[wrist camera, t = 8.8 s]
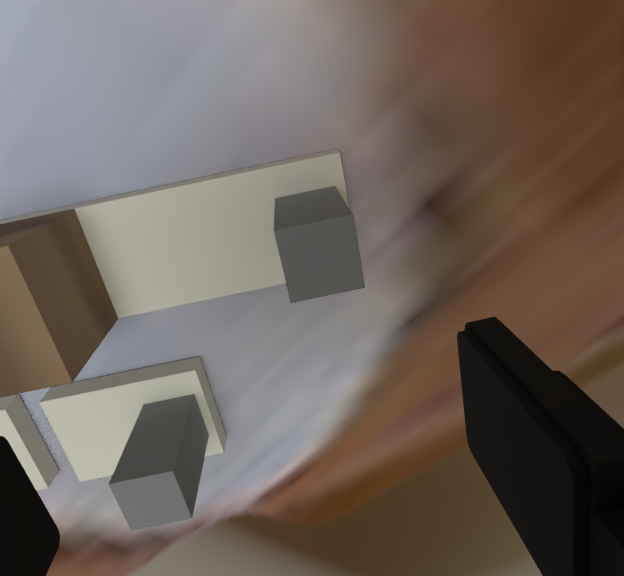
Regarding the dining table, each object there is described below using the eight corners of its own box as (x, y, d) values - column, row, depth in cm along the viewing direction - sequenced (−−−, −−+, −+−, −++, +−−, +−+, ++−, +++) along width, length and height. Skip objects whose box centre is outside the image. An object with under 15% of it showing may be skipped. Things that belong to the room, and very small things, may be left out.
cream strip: (336, 149, 24) (359, 171, 17) (354, 258, 26) (382, 318, 19) (-48, 230, 24) (-179, 284, 17) (4, 332, 26) (-93, 416, 19)
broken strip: (199, 356, 28) (173, 443, 21) (226, 436, 30) (210, 537, 23) (-128, 424, 28) (-262, 532, 21) (-77, 497, 30) (-182, 616, 23)
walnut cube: (74, 208, 23) (8, 245, 17) (118, 318, 25) (72, 382, 19) (-47, 234, 23) (-152, 279, 17) (8, 341, 25) (-69, 411, 19)
